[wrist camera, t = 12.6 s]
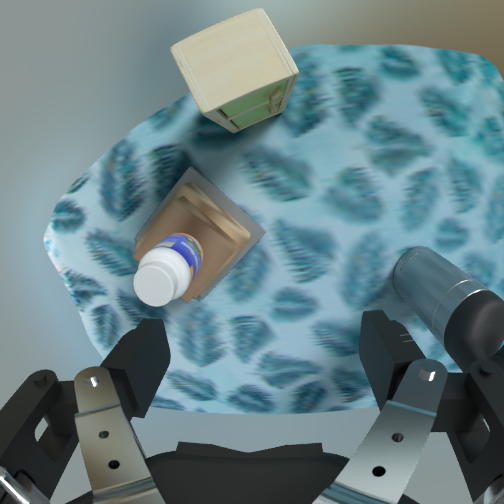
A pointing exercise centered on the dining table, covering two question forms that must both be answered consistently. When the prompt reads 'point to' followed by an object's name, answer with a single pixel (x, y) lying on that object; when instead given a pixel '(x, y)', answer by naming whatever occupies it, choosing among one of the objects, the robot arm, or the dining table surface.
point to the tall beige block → (237, 70)
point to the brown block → (197, 234)
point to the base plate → (225, 204)
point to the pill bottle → (168, 269)
